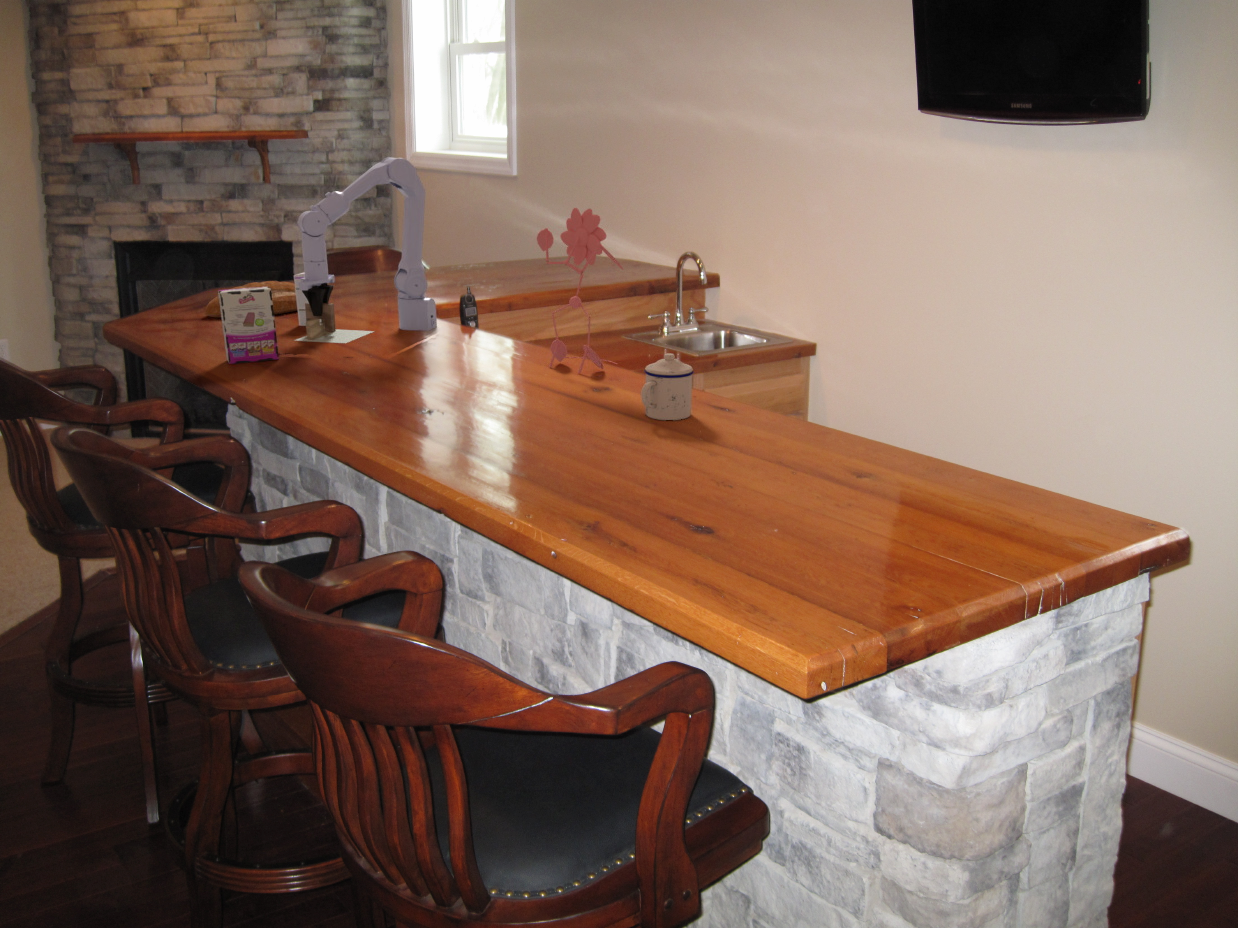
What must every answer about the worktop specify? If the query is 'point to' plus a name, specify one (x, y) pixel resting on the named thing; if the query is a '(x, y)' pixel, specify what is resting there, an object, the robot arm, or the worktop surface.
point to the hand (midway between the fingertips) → (319, 315)
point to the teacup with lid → (668, 389)
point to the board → (339, 336)
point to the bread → (280, 297)
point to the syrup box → (300, 300)
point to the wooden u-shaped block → (315, 329)
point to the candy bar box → (248, 324)
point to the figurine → (581, 245)
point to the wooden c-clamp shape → (323, 316)
